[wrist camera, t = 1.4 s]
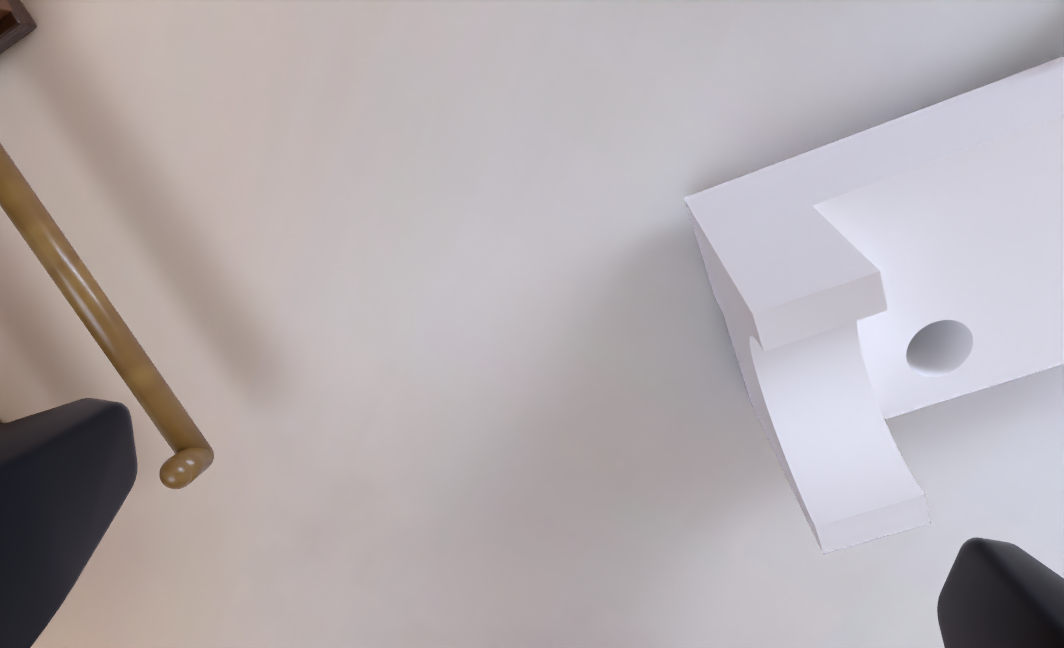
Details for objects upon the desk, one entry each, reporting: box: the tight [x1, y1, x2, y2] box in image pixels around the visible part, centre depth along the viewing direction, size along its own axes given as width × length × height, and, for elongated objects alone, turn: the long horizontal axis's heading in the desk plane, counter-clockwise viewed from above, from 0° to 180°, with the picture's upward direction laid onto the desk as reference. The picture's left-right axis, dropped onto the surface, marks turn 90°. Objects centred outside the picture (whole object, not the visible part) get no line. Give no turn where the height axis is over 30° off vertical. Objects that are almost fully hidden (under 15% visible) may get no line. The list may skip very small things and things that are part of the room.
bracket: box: [684, 56, 1064, 554], centre depth 20 cm, size 13×7×8 cm, turn 111°
